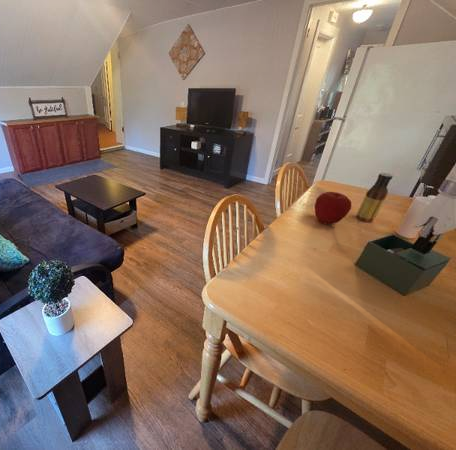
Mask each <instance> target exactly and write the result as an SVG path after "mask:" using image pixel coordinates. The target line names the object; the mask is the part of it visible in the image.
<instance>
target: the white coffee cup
mask: <svg viewBox="0 0 456 450" xmlns="http://www.w3.org/2000/svg"><path fill="white" fill-rule="evenodd" d="M432 201H433V199H432V198H428V196H421V195H419V196H416V197H414V199H413V200H412V202H411V203H410V205H409V207H408V208H407V210H406V211H405V212H406V213H405V215H404V217H403V219H402V221H401V223H400V225H399V226H398V228H397V230H396V234H397V236H399V237H401V238H403V239H404V238H405V239H411V240H412V239H415V238H416V236H417V235H418V234H419V233H420V232H421V231H422V229H423V228H424V226H422V227H418V228H416V227H415V226H414V224H415V223H416V221H417V220H418V219H419V217H420V216H421V215H422V213H423V212H424V211H425V209H426V208H427V207H428V205H429V204H430V203H431V202H432Z"/></svg>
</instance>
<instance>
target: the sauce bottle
mask: <svg viewBox="0 0 456 450" xmlns="http://www.w3.org/2000/svg"><path fill="white" fill-rule="evenodd" d="M392 178H393V174H391V173H387V172H379V174H378V176H377V179H376V181H375V183H374V184H373V185H372V186H371V187H370V188H369V190H368V191H366V194H365V195H364V197H363V200H362V202H361V203H360V206H359V208H358V210H357V212H356V218H357V219H358V220H360V221H363V222H369V223H370V222H373V221H375V219H376V217H377V215H378V213H379V212H380V210H381V208H382V206H383V204H384V202H385V200H386V197H387V195H388V193H389V192H388V186H389V184H390V181H391V180H392Z"/></svg>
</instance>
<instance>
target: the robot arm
mask: <svg viewBox="0 0 456 450" xmlns="http://www.w3.org/2000/svg"><path fill="white" fill-rule="evenodd" d="M437 192H438V194H437V195H435V196H436V197H435V198H434V199H433V201H432V202H431V203H430V204H429V205H428V207H427V208H426V209H425V211H424V212H423V213H422V215H421V216H420V217H419V219H418V220H417V221H416V223H415V224H414V226H415V227H416V228H418V227H422V226H423V228H422V229H421V230H420V231H419V232H418V237H417V239H416V240H415V242H414V243H413V244H414V245H413V246H412V249H414V250H416V251H418V252H420V253H422V254H427V253H429V252H430V251H431V249H432V250H433V248H434V247H435V246H436V244H437V243H438V241H439V240H440V239H441V238H442V237H443V236H444V234H445V233H448V232H450V231H453V230H455V229H456V163H455V164H454V166H453V167H452V169H450V172H449V173H448V174H447V176H446V178H445V179H444V181H443V182H442V184H441V185H440V186H439V187H438V190H437Z"/></svg>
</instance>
